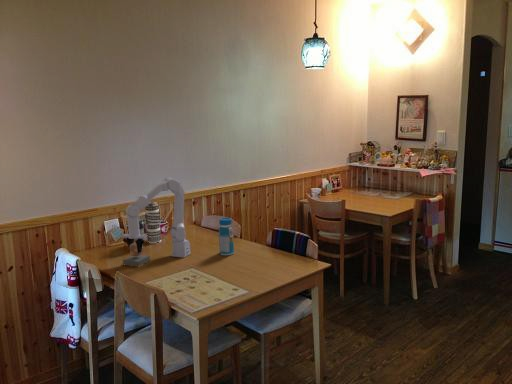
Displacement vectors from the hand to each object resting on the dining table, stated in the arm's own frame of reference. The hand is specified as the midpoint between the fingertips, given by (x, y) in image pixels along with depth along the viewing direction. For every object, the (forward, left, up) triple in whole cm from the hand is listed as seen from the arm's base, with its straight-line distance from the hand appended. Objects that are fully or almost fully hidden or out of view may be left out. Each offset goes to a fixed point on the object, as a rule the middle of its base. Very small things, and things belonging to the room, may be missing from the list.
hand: (135, 251), depth 250 cm
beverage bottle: (-40, -29, -7) cm, 50 cm away
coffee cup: (+15, -21, -7) cm, 27 cm away
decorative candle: (+14, -37, -7) cm, 40 cm away
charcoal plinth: (0, 0, -6) cm, 6 cm away
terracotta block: (0, 0, -2) cm, 2 cm away
